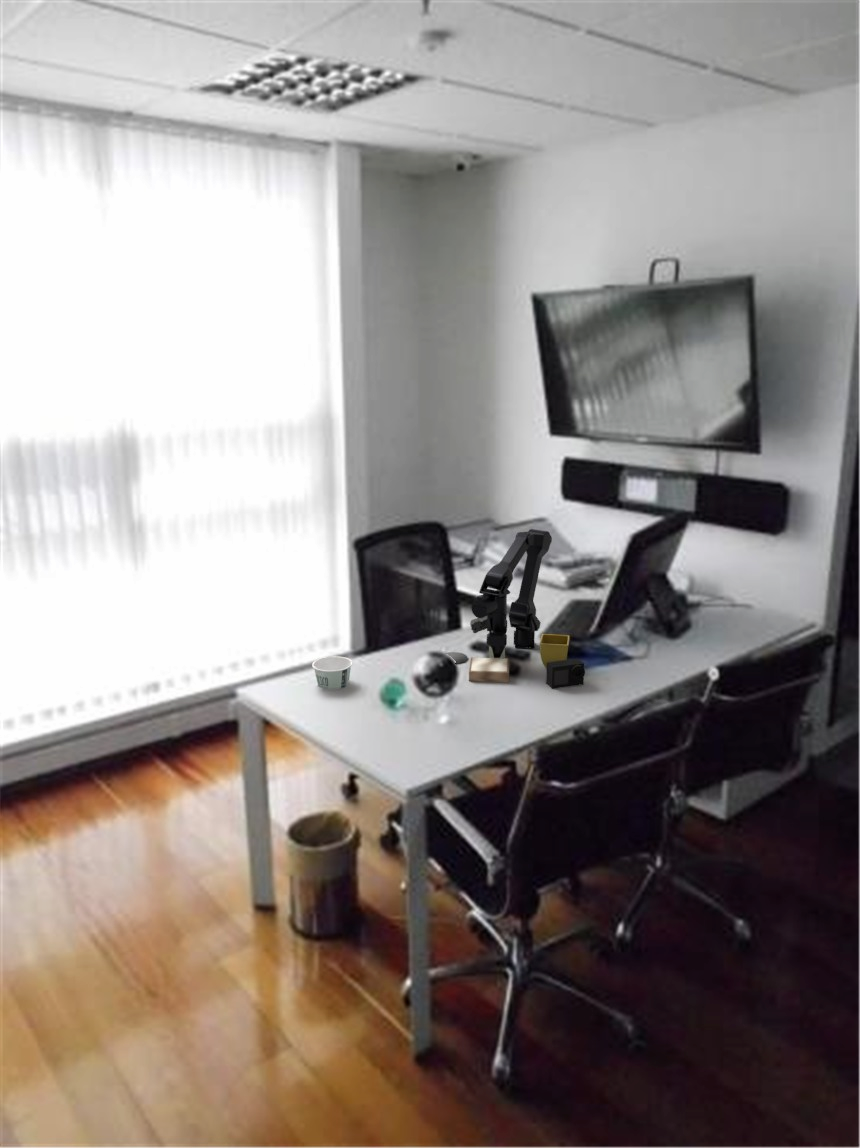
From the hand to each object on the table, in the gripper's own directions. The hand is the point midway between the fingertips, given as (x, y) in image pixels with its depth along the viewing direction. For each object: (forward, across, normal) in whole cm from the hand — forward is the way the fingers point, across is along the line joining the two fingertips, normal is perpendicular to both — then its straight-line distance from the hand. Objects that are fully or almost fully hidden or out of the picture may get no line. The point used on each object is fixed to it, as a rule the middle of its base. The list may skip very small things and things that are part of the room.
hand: (496, 656), depth 281 cm
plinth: (+1, +12, -2) cm, 12 cm away
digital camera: (+2, +19, +21) cm, 28 cm away
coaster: (+1, 0, -14) cm, 14 cm away
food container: (+2, +23, -49) cm, 54 cm away
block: (+1, 0, 0) cm, 1 cm away
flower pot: (+2, +4, +18) cm, 18 cm away
